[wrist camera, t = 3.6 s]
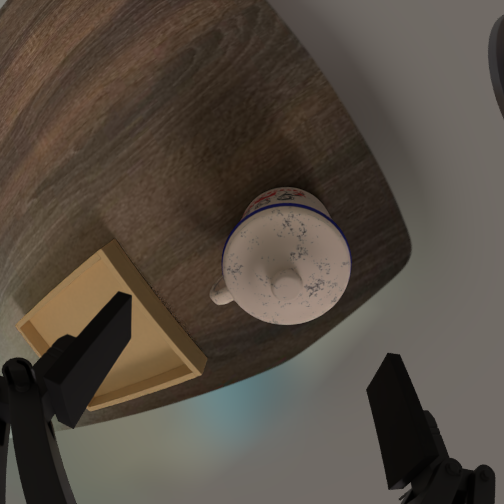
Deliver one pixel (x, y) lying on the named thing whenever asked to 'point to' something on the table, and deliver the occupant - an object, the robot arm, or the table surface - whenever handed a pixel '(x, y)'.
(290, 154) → the table surface
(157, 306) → the tray
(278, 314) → the teacup with lid
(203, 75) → the table surface
